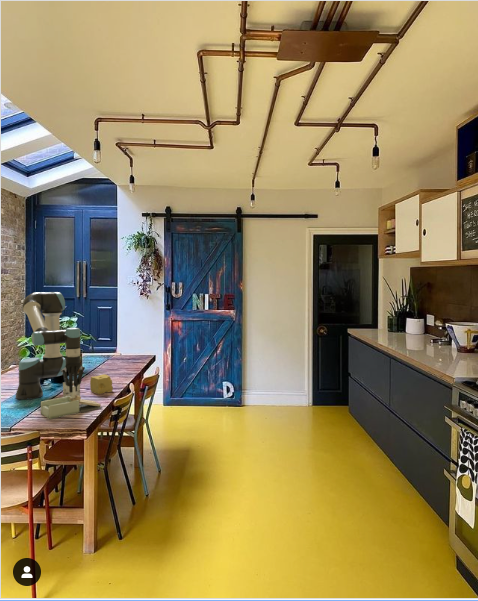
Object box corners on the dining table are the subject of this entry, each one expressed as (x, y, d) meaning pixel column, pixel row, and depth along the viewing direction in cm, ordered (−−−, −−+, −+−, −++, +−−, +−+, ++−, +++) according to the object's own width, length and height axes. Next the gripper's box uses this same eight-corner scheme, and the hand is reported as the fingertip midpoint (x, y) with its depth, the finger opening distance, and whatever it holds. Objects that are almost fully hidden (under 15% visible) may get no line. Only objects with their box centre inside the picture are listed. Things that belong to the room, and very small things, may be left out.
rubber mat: (71, 406, 239) (71, 406, 239) (91, 402, 247) (91, 402, 247) (81, 412, 229) (81, 411, 229) (102, 408, 237) (102, 407, 237)
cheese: (112, 391, 272) (112, 376, 272) (97, 394, 264) (97, 379, 264) (104, 388, 279) (104, 373, 279) (89, 391, 271) (89, 376, 271)
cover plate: (69, 399, 235) (71, 393, 236) (93, 403, 245) (95, 397, 246) (75, 403, 229) (77, 396, 229) (100, 406, 239) (102, 400, 240)
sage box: (40, 413, 226) (40, 401, 226) (70, 407, 237) (70, 395, 237) (49, 419, 217) (49, 406, 217) (79, 412, 229) (79, 400, 228)
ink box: (76, 398, 255) (76, 379, 254) (80, 400, 252) (80, 381, 251) (62, 401, 248) (62, 382, 248) (66, 403, 245) (66, 383, 244)
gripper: (63, 358, 224) (64, 401, 225) (87, 355, 233) (87, 396, 234) (58, 356, 229) (58, 398, 230) (81, 353, 238) (81, 394, 239)
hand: (73, 397), depth 232 cm, fingers closed
